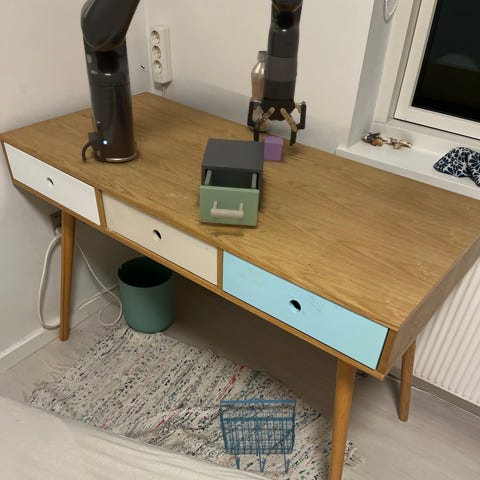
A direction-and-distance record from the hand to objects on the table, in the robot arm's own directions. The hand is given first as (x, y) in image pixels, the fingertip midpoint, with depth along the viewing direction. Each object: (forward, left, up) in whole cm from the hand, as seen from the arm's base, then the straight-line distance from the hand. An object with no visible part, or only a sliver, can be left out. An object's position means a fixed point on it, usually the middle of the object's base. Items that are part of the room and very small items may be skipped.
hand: (274, 144), depth 127 cm
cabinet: (-18, -15, -3) cm, 24 cm away
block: (0, 0, -3) cm, 3 cm away
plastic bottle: (+5, +18, -4) cm, 19 cm away
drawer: (-23, -25, -2) cm, 34 cm away
